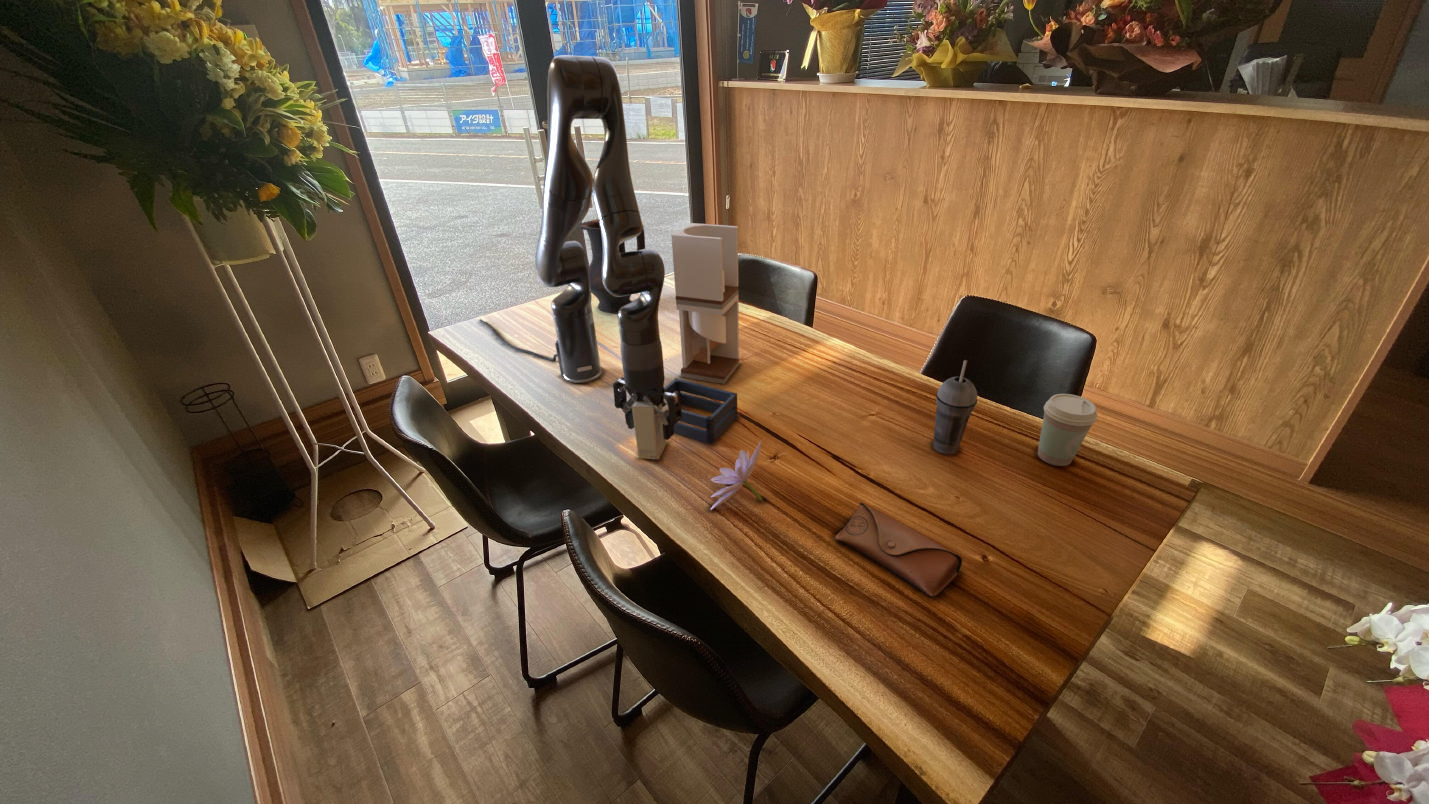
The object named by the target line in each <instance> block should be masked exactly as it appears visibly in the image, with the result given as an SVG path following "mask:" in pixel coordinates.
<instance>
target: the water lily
mask: <svg viewBox="0 0 1429 804" xmlns="http://www.w3.org/2000/svg"><path fill="white" fill-rule="evenodd" d="M761 447H762V440H760V441H759V442H758V445H757V446H756V448H755V450H754V451H753V452H752V455H751V457H750V454H749V451H747V452H746V451H745V449H741V450H740V451H739V453H738V455H737V459H736V460H735V462H734V469H732V468H729V467H720V468H719V472H720V474H719V475H716V476H714V477H712V478H710V481H712V482H713V483H715V484H719V485H729V486H725V487H723V488H721V489H719V490H717V491H715V492H714V493H713V494H712V495H711V496H710V498H715V497H719V496H720V497H719V498H718V499H717V500H716V501H715V503H714V504H713V505H712V506H711V507H710V510H709V511H712V510H714V509H715V508H717V507H719V506H721V505H723V504H724V503H726V502H727V501H728V500H730V498H731V497H733V496H734V495H735V494H736V493H737V492H738V491H739V490H740V489H741V488H742V487H743V485H745V486H746V487H747V488H748V489H749V490H750V491H751V492H752V494H753V495H754V496H755V497H756V499H757V500H758V501H759V502H761V501H763V497H762V496H761V495H760V493H759V492H757V490H756V489H755V488H754V487H753V486H752V485H751V484H750V483H749V482H748V481H747V480H749V478H750V477H751V475H752V474H753V472H754V469H755V467H756V464H757V463H758V460H759V457H760V453H761Z"/></svg>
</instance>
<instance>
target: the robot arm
mask: <svg viewBox="0 0 1429 804" xmlns="http://www.w3.org/2000/svg"><path fill="white" fill-rule="evenodd" d="M547 74H548V75H547V143H546V157H545V159H546V160H545V168H544V175H543V189H542V209H541V223H540V227H539V228H540V229H539V234H538V238H537V242H536V243H537V244H536V248H535V249H536V250H535V256H534V257H535V259H534V260H535V261H534V262H535V263H534V264H535V271H536V275H537V277H538V279H539V281H540V283H541V284H542V285H543V286H544V287H547V288H559V287H563V286H566V287H565V289H564V290H563V291H562V292H561V293H560V294H558V295H557V296H555V297H554V298H553V299H552V300H551V301H550V307H551V308H550V309H551V314H552V318H553V323H554V329H555V334H556V340H555V342H554V345H555V350H556V353H555V354H553V357H547V356H544V355H541V354H539V353H537V352H534V351H531V350H527V349H523V348H520V347H517V346H514V345H513V344H510V343H508V341H505V339H503V338H502V337H501V336H499V335H498V333H497V332H496V330H495V329H494V328H493V327H492V326H491V325H489V324H488V323H487V322H485V321H484V320H482V319H479V320H478V321H479V322H480V323H481V324H483V325H484V326H485V327H486V328H488V329H489V330H490V331H491V332H492V334H493V336H495V337H496V339H498V340H499V341H500V342H501V344H503V345H505V346H507V347H509V348H510V349H513V350H515V351H518V352H522V353H526V354H529V355H532V356H534V357H537V358H540V359H543V360H547V361H550V362H555V361H556V360H557V361H558V362H557V363H558V366H559V371H560V376H561V377H563V378H564V380H565V381H567V382H568V383H572V384H586V383H590V382H593V381H595V380H597V379H598V378H600V377H601V376H602V373H603V371H602V366H601V359H600V353H599V346H598V339H597V333H596V327H595V319H594V314H593V313H594V312H593V306H592V300H593V299H592V293H591V288H590V277H589V261H588V255H587V253H586V250H585V249H584V246H583V245H582V244H581V243H580V242H579V241H577V240H568V239H569V237H570V236H571V235H572V234H573V233H574V232H575V230H577V228H578V226H579V224H580V223H583V222H584V220H585V218H586V217H587V215H588V213H589V210H590V207H591V202H592V200H593V204H594V208H595V212H596V216H597V219H598V220H599V224H600V229H601V235H602V250H603V252H602V281H603V285H604V287H605V288H606V290H607V291H608V292H609V293H610V294H611V295H613V296H616V297H621V296H626V295H631V296H632V295H637V294H639V295H638V297H637V298H636V299H635V300H633V301H632V302H631V303H628V304H626V305H624V306H623V307H621V308H620V310H619V312H618V313H617V322H618V330H619V338H620V357H621V365H622V373H623V376H621V377H620V378H618V379H616V380H615V381H614V382H613V383H612V389H613V399H614V401H613V402H614V407H615V408H616V409H618V410H619V409H621V410H622V412H623V414H624V417H625V424H626V426H627V429H629V430H633V429H635V427H634V419H633V412H632V405H633V403H634V402H635V401H641V402H645V403H646V404H647V405H649V406H652V407H654V414H655V416H658V417H659V418H660V420H661V421H662V422H663V424H662V426H663V437H664V439H665V440H666V441H668V440H670V438H672V437H673V436H674V435H675V433H674V425H675V424H676V423H677V422H680V421H679V420H680V419H681V418H682V410H683V409H682V404H681V402H680V394H679V392H677V391H675V392H674V393H668V392H666V391H665V389H664V387H665V386H664V385H665V379H666V378H665V377H666V376H665V369H664V368H665V365H664V355H663V346H662V341H661V336H660V335H661V334H660V325H659V311H660V310H659V309H660V302H661V298H662V293H663V288H664V283H665V275H666V273H665V272H666V270H665V264H664V260H663V258H662V256H661V255H660V254H659V252H658V251H656V250H655V249H652V248H645V249H642V250H637V249H636V250H629V251H626V252H623V253H619V245H620V244H621V243H623V242H625V243H626V242H627V241H630V240H633V239H635V238H636V237H637V236H638V235H639V234H640V233H641V232H642V224H643V221H642V217H641V213H640V208H639V205H638V200H637V196H636V192H635V188H634V184H633V179H632V173H631V167H630V160H629V150H628V140H627V139H628V137H627V131H626V121H625V113H624V112H625V111H624V105H623V98H622V97H623V96H622V90H621V85H620V79H619V76H618V73H617V69H616V68H615V66H614V65H613V63H612V61H611V60H610V59H608V58H606V57H602V56H590V55H572V54H571V55H570V54H562V55H561V54H559V55H555V56H554V57H553V58H552V60H550V64H549V66H548V73H547ZM574 120H601V123H602V127H603V133H604V135H603V136H604V137H603V138H604V141H603V145H602V149H601V154H600V156H599V160H598V162H597V166H596V168H595V170H594V171H595V172H594V175H593V173H592V169H591V168H590V165H589V164H588V162H587V160H586V159H585V157H584V155H583V154H582V153H581V151H580V150H579V147H578V146H577V143H576V142H575V140H574V138H573V135H572V125H573V121H574ZM627 393H628V395H629V396H630V397H629V399H628V396H627ZM660 403H661V405H662V408H661V409H658V408H657V407H658V406H659V405H660ZM664 412H665V414H666V415H667V417H666V416H665V415H664Z"/></svg>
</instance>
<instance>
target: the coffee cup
mask: <svg viewBox="0 0 1429 804" xmlns="http://www.w3.org/2000/svg"><path fill="white" fill-rule="evenodd" d="M1043 411H1044V412H1043V419H1042V425H1041V429H1040V430H1041V431H1040V436H1039V442H1038V447H1037V448H1038V449H1037V456H1038V457H1039V459H1040V460H1042V461H1043V462H1045V463H1047V464H1049V465H1052V466H1058V467H1065V466H1069V465H1071V463H1072V462H1073V461H1074V458H1075V457H1076V455H1077V453H1078V451H1079V450H1080V448H1081V445H1082V444H1083V442H1084V440H1085V439H1086V437H1087V435H1088V433H1089V431H1090V430H1091V428H1092V426H1093V424H1095V423H1096V422H1097V419H1098V413H1097V406H1096V405H1095V403H1093V402H1092V401H1090V400H1089V399H1087V398H1085V397H1082V396H1080V395H1075V394H1070V393H1058V394H1057V393H1056V394H1054V395H1052V396H1051V397H1050V398H1049V399H1048V400H1047V401H1046V402H1045V404H1044V405H1043Z"/></svg>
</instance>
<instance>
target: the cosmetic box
mask: <svg viewBox="0 0 1429 804" xmlns="http://www.w3.org/2000/svg"><path fill="white" fill-rule="evenodd" d="M657 408H658V409H661V408H662V405H661V403H660V405H659V406H658V407H657ZM632 412H633V419H634V435H635V441H636V448H637V449H636V450H637V457H638V459H647V460H660V457H662V456H661V455H662V454H663V451H664V450H665V448H666V445H667V440H665V439H664V437H663V426H662V424H663V422H662V421H661V420H660V418H659V417H658V416H655V414H654V407H652V406H649V405H647V404H646V403H645V402H641V401H635V402H634V403H633V405H632Z"/></svg>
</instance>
